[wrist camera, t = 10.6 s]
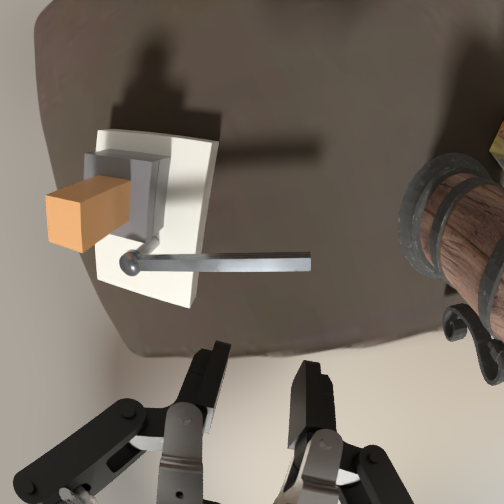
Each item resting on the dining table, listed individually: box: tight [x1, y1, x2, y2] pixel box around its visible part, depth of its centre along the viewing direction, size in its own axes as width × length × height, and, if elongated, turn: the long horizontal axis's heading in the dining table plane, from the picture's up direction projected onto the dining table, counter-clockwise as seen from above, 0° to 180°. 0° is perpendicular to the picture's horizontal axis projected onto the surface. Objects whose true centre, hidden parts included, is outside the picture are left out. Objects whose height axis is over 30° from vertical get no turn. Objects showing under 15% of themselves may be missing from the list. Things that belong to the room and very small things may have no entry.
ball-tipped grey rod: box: [119, 249, 311, 276], centre depth 25 cm, size 18×2×1 cm, turn 95°
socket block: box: [95, 129, 219, 308], centre depth 29 cm, size 20×14×8 cm
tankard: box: [398, 153, 504, 386], centre depth 20 cm, size 24×17×20 cm
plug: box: [46, 152, 159, 253], centre depth 23 cm, size 8×8×12 cm
